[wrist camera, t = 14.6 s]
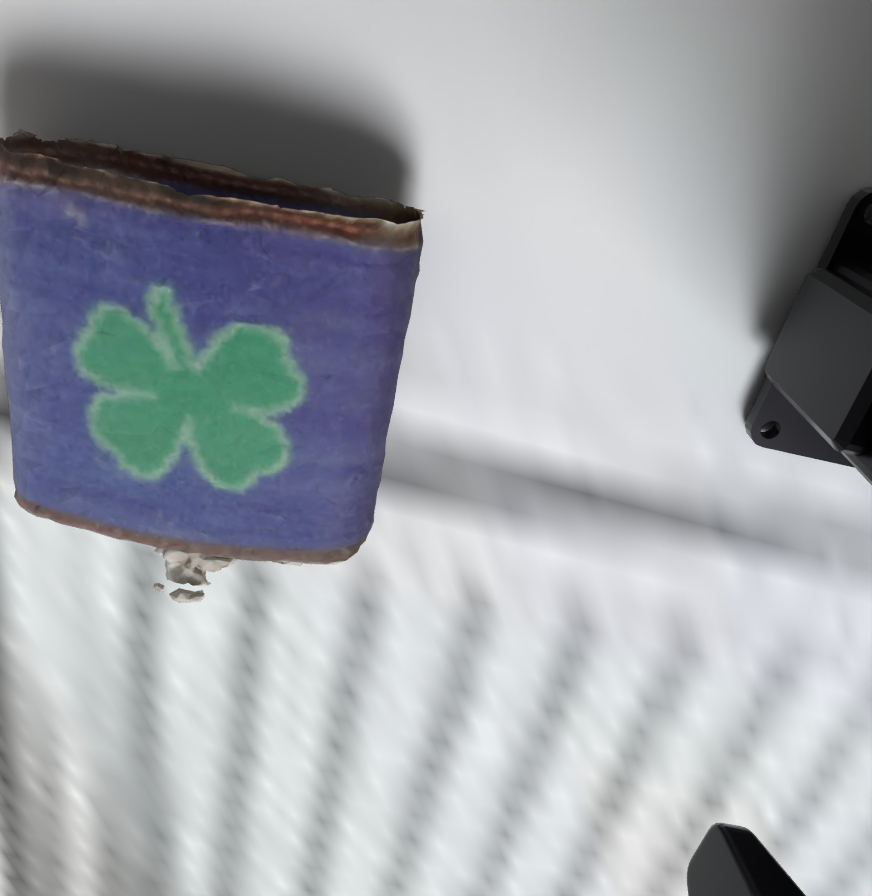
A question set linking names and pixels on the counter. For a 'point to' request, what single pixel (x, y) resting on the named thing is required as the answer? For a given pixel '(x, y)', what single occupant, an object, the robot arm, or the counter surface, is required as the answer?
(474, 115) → the counter surface
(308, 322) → the blue painted container
